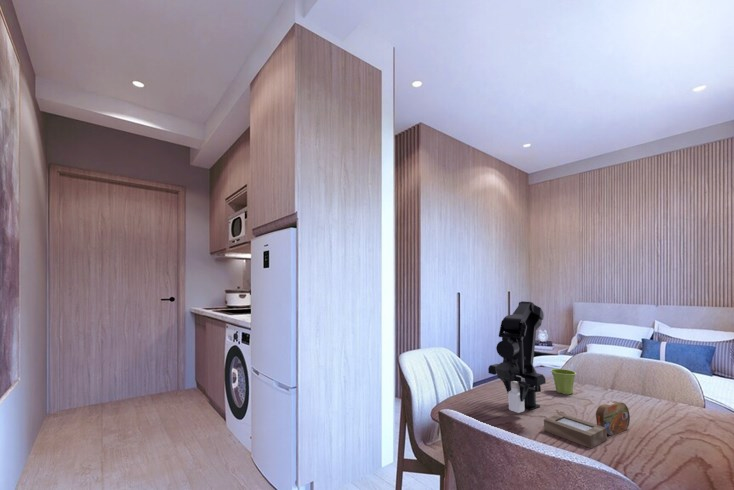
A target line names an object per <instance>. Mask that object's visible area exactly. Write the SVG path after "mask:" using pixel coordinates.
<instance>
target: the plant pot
mask: <svg viewBox="0 0 734 490" xmlns="http://www.w3.org/2000/svg"><path fill="white" fill-rule="evenodd" d="M550 372H551V375H552V376H553V381H554V386H555V387H554V388H555V390H556V391H555V392H556V393H558V394H562V395H571V394H573V392H574V384H575V383H574V381H575V377H576V375H577V372H576V371H573V370H569V369H565V368H563V369H562V368H553V369H550Z"/></svg>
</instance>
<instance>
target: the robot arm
mask: <svg viewBox="0 0 734 490" xmlns="http://www.w3.org/2000/svg"><path fill="white" fill-rule="evenodd" d="M544 316H545V315H544V311H543V309H542V308H541V307H539V306H538V305H536V304H535V303H534V302H532V301H521V300H520V301H519V302H518V306H517V307H516V309H515V310H514V311H513V313H512V314H508V315H506V316H504V317H503V319H502V320H501V322H500V327H499V332H498V338H501V340H500V341H499V342H498V343H497V344H496V347H495V348H496V353H497V354H498V355H499V357H501V358H503V359H502V362H500V363H494V364H490V365H489V366H488V369H487V371H488V374H490V375H495V376H496V377H497V378H498V379H500V380H501V382H502V383H503V385H504V387H505V390H506V392H507V394H508V392H509V391H511V381H517V382H518V384H519V386H520V400H521V402H522V401H524V407H525V409H527V410H535V409H537V408H540V407H541V405H540V404H538V403H537V398H536V397H537V394H536V393H539V392H541V391H542V385H545V384H546V377H545V376H544V374H541V373H538V372H537V370H536V368H535V367H534V359H535V358H534V357H535V349H536V347H535V345H536V338H537V337H536V335H537V330H538V329H539V328H540V327H541V326H542V322H543V320H544V318H545V317H544Z"/></svg>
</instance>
